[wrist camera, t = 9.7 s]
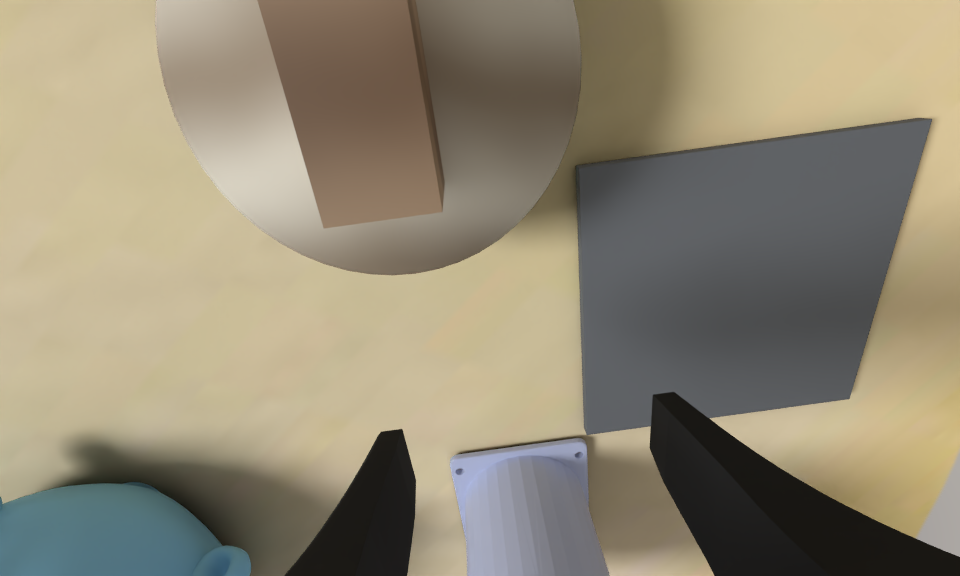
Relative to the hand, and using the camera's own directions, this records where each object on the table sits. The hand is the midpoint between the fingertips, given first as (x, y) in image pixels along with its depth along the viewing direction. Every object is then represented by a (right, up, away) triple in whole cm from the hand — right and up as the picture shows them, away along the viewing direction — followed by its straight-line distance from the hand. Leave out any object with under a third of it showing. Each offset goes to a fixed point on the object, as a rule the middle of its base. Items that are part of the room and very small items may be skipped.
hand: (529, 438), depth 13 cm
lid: (-5, +11, +1) cm, 11 cm away
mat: (+11, +4, +10) cm, 15 cm away
